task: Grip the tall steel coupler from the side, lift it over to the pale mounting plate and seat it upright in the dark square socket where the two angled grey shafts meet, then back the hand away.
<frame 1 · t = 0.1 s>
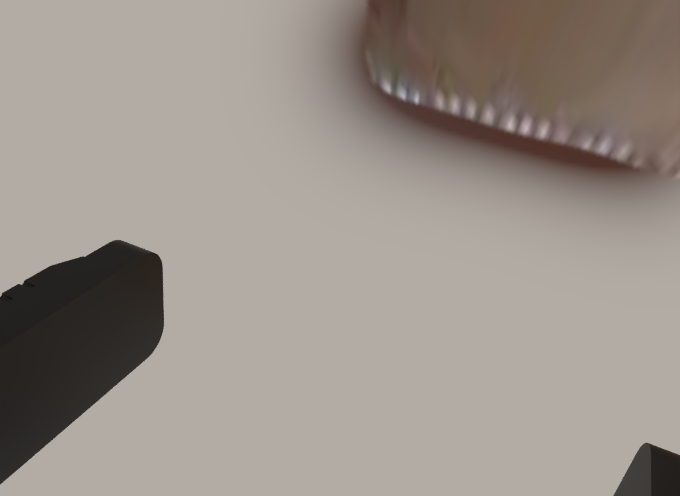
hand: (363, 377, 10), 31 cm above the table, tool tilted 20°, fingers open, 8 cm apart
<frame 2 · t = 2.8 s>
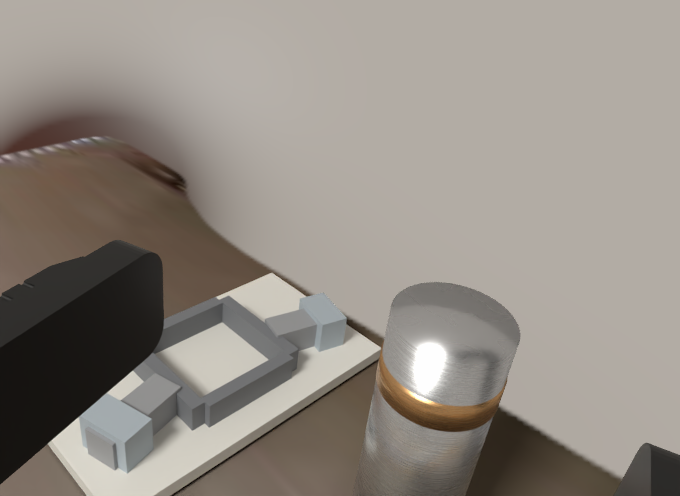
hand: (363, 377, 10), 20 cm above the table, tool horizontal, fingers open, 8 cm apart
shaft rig: (212, 375, 37), on the table
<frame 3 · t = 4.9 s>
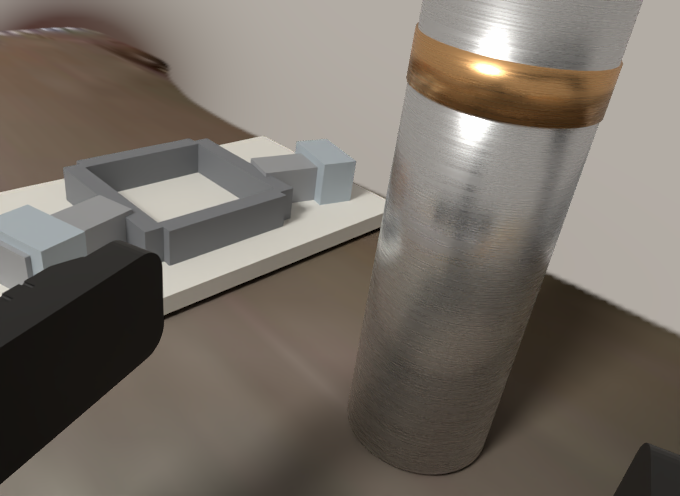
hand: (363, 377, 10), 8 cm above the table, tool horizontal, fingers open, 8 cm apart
coupler: (416, 416, 20), on the table
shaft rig: (181, 224, 29), on the table
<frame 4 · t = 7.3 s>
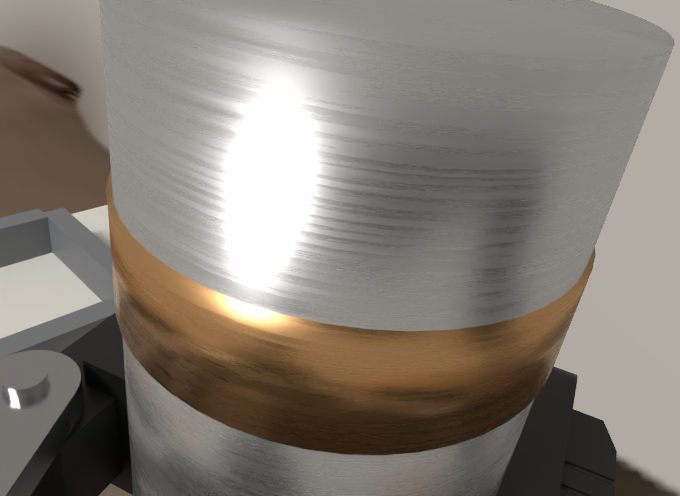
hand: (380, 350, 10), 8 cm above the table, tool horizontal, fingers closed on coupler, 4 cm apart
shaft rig: (6, 336, 21), on the table
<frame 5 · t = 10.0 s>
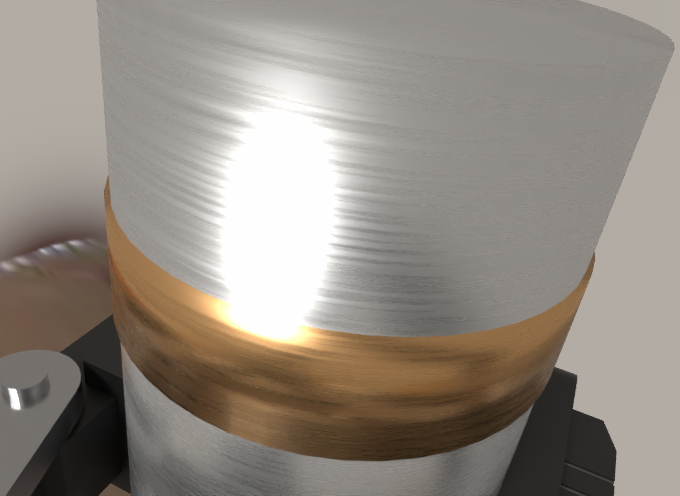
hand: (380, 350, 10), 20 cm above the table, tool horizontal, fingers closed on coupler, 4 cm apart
when the fingers open (9 cm above the table, at t = 13.0 s): coupler stays where it is, resting on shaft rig.
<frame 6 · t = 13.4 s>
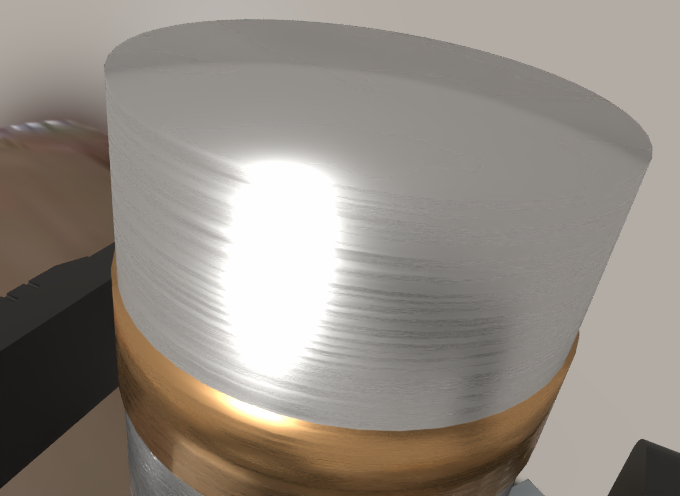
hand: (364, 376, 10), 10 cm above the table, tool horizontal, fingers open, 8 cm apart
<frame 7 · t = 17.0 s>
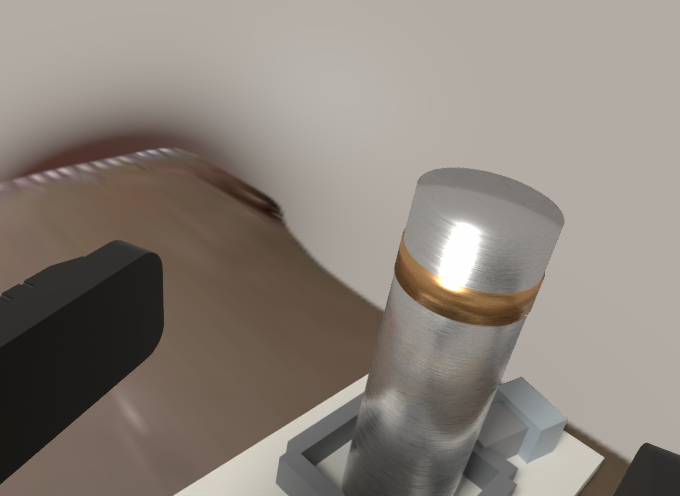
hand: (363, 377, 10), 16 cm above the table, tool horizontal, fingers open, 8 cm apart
coupler: (395, 490, 26), point 1 cm above the table, touching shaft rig
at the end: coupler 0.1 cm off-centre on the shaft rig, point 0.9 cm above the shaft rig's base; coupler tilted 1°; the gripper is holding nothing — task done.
